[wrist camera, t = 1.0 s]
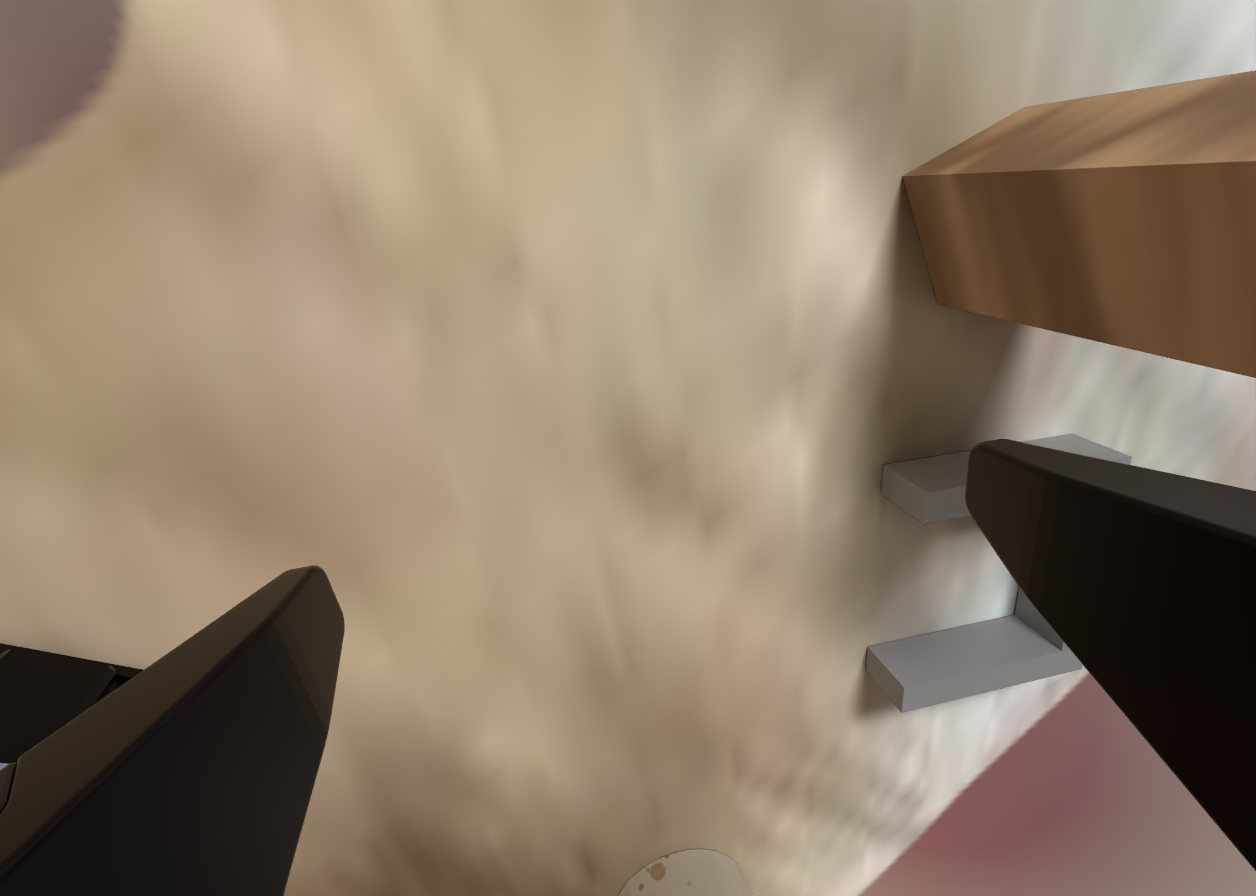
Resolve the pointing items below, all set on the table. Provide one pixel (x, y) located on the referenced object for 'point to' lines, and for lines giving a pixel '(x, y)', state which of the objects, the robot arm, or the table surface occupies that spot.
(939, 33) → the table surface
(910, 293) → the table surface
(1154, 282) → the wooden block
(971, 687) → the u-shaped bracket
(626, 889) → the coffee cup
